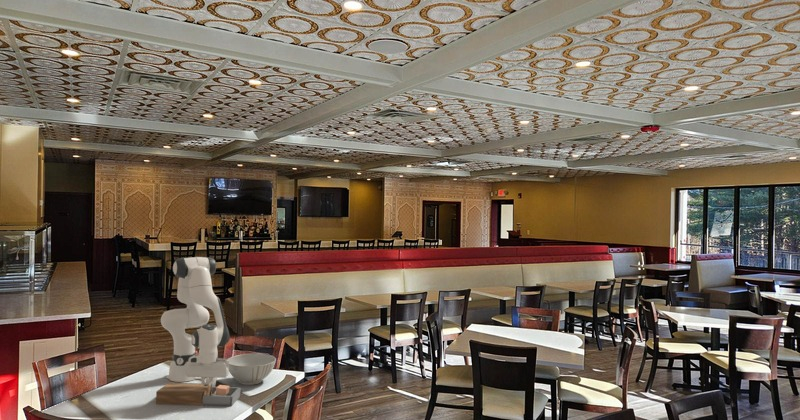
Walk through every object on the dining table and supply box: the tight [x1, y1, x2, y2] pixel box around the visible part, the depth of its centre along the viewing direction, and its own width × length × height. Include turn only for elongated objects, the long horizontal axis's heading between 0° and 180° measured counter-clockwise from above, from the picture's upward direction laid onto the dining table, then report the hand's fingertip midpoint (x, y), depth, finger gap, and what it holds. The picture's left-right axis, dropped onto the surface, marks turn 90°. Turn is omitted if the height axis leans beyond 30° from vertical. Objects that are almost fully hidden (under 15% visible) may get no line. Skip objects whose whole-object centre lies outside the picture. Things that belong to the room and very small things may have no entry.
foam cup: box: [200, 377, 217, 387], centre depth 279 cm, size 10×9×13 cm
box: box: [202, 386, 241, 407], centre depth 263 cm, size 14×14×4 cm
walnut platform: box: [155, 382, 212, 406], centre depth 263 cm, size 14×22×6 cm, turn 90°
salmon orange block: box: [216, 384, 231, 395], centre depth 263 cm, size 5×5×3 cm
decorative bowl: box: [226, 353, 277, 386], centre depth 294 cm, size 27×27×12 cm
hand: (207, 385), depth 263 cm, fingers closed
